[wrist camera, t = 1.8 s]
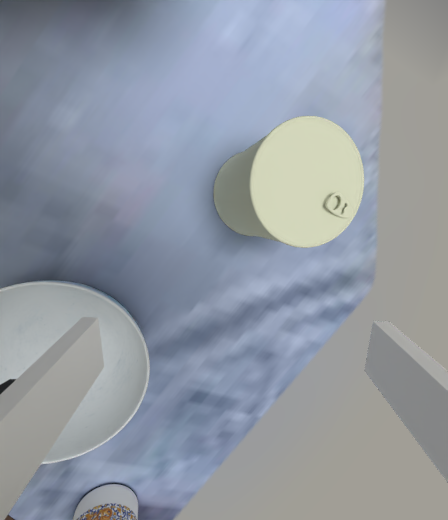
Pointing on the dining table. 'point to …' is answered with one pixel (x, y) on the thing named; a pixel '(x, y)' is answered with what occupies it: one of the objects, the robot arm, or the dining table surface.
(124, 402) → the chinaware
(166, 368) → the dining table surface
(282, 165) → the can
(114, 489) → the bath foam
